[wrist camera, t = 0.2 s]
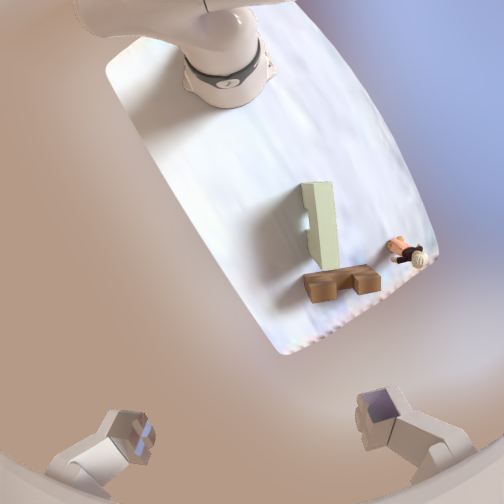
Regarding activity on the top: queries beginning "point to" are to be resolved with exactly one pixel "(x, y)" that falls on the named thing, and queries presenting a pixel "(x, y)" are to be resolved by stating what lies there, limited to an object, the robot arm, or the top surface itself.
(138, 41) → the top surface
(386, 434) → the robot arm
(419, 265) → the grandmother figurine
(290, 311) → the top surface
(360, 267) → the wooden u-shaped block
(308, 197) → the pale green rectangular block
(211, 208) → the top surface
